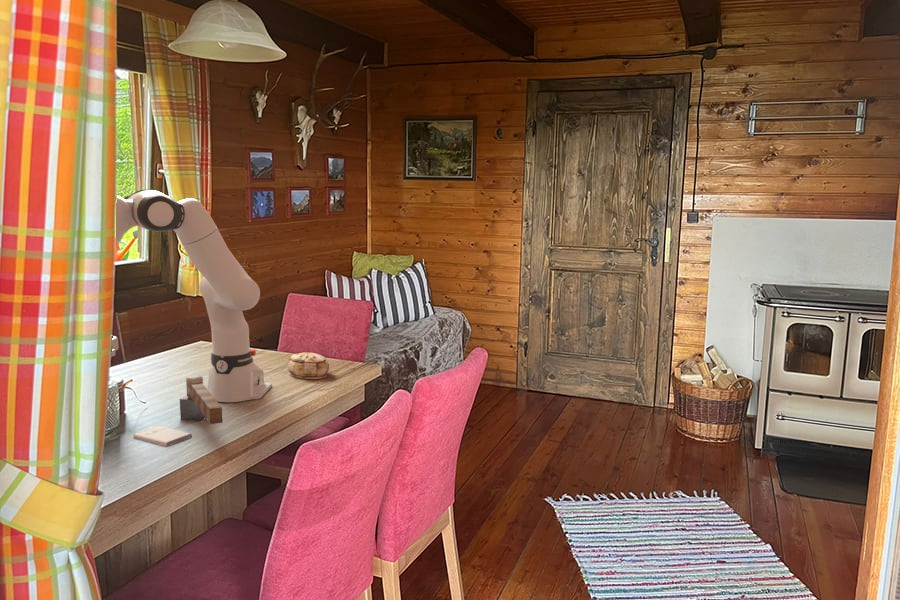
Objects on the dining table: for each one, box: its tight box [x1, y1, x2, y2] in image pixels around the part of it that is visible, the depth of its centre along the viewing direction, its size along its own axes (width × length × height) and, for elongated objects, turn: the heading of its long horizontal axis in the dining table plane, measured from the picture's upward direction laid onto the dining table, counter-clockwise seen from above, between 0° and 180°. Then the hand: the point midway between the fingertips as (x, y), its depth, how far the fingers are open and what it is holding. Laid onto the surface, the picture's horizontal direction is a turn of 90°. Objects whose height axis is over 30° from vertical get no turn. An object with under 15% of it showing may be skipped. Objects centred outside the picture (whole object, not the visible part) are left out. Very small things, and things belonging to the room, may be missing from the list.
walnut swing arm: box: [185, 375, 223, 425], centre depth 193 cm, size 30×4×5 cm, turn 30°
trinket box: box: [287, 351, 330, 380], centre depth 251 cm, size 13×15×8 cm
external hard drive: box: [132, 425, 193, 447], centre depth 189 cm, size 2×8×12 cm
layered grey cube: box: [179, 395, 206, 422], centre depth 205 cm, size 6×6×6 cm
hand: (111, 353), depth 187 cm, fingers closed
